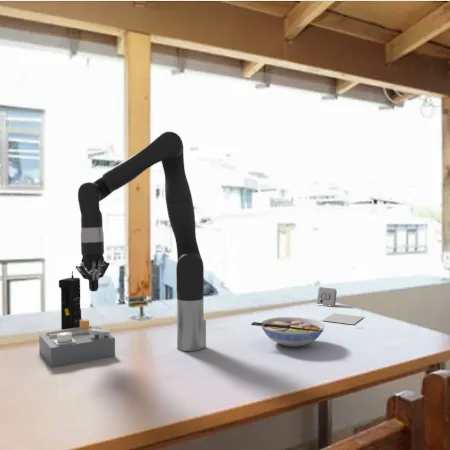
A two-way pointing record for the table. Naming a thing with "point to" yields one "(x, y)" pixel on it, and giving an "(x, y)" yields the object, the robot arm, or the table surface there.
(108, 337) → the console
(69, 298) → the portable radio
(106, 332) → the rocker switch
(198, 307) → the robot arm
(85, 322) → the slider knob
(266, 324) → the ramen bowl
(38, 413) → the table surface
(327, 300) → the electrical switch
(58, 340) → the push button
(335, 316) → the paper stack
